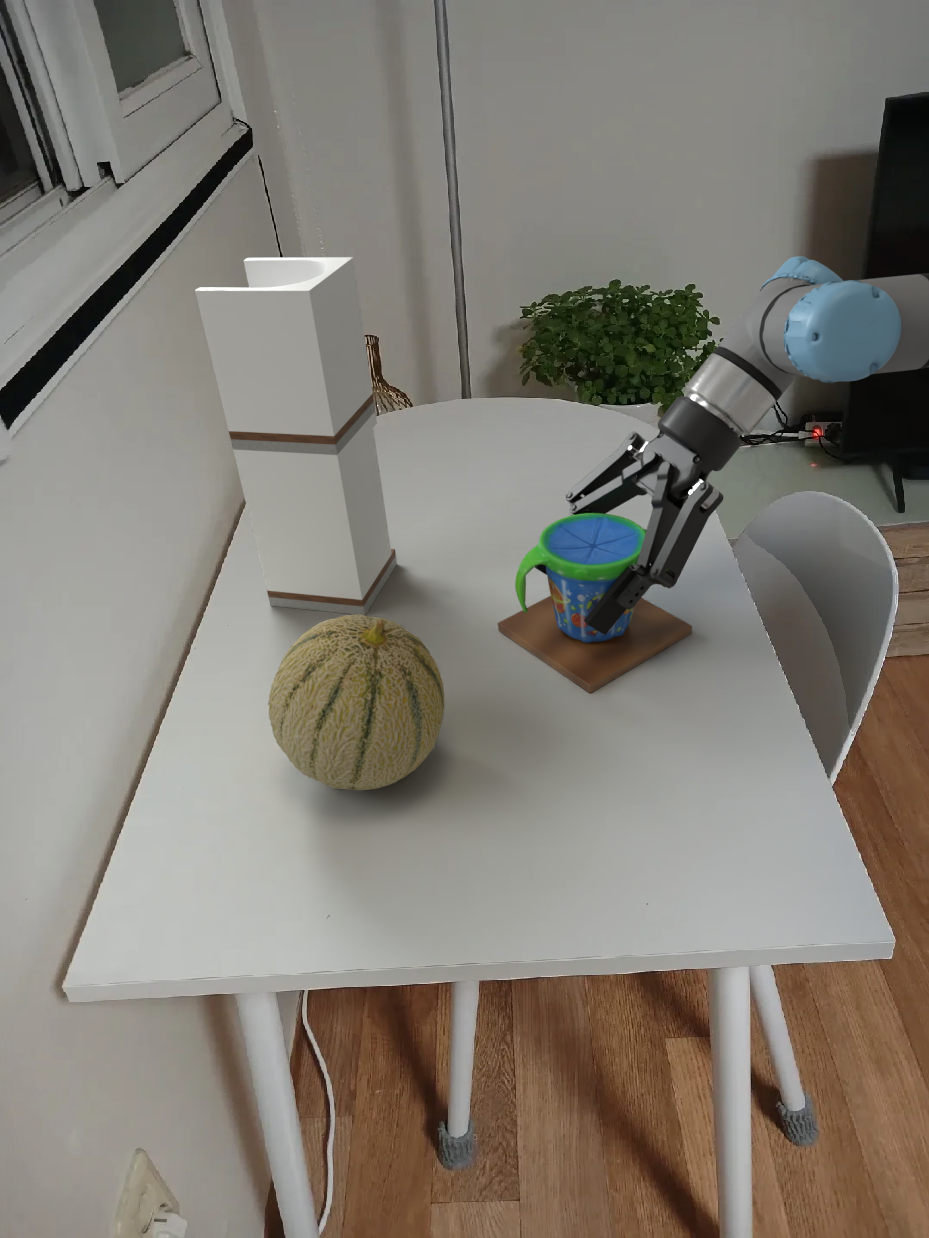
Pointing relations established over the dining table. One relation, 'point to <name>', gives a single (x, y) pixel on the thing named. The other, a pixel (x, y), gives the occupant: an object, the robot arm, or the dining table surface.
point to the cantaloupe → (357, 702)
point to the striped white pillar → (303, 429)
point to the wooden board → (599, 658)
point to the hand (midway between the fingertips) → (567, 598)
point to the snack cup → (583, 568)
